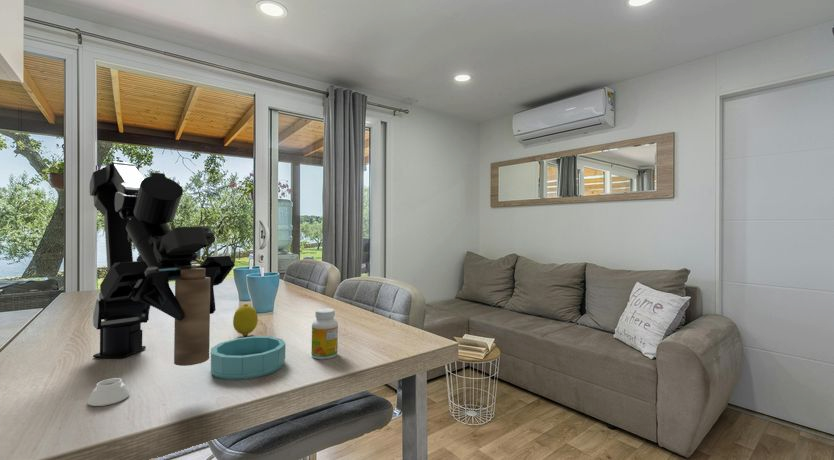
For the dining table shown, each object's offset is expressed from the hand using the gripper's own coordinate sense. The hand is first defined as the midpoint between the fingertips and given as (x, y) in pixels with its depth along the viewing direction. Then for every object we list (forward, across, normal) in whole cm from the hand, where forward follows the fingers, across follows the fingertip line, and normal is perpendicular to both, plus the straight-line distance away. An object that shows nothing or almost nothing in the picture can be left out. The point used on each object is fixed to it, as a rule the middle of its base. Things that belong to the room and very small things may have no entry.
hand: (198, 315), depth 59 cm
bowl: (+6, +14, +12) cm, 19 cm away
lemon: (-6, +27, +25) cm, 38 cm away
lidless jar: (+1, -6, +18) cm, 19 cm away
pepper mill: (+4, 0, +6) cm, 7 cm away
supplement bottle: (+13, +25, +6) cm, 29 cm away
